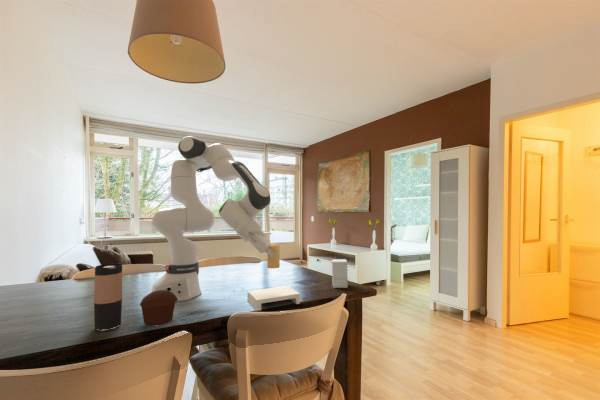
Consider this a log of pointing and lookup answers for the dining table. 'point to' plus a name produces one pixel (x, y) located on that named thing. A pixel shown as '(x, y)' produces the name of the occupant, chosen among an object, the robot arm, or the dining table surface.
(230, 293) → the dining table surface
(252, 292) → the white bridge block
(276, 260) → the tan rectangular block
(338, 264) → the supplement box
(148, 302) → the muffin
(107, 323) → the travel mug
